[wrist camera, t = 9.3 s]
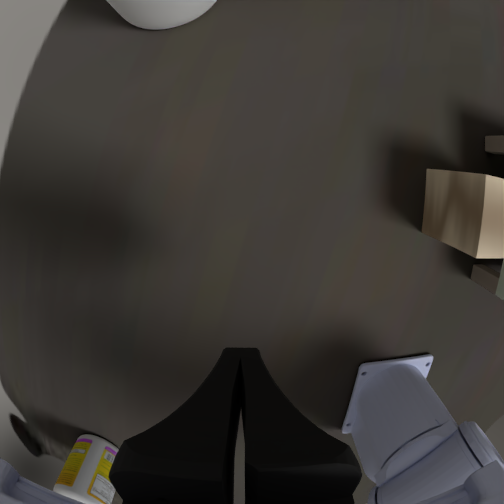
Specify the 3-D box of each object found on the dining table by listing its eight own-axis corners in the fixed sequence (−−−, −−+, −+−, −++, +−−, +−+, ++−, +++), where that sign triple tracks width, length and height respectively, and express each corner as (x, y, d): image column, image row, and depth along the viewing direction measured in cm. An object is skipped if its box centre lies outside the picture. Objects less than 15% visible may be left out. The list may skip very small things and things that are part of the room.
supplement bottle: (78, 448, 29) (46, 517, 16) (79, 424, 27) (39, 502, 15) (122, 469, 29) (99, 542, 17) (130, 448, 28) (101, 533, 15)
